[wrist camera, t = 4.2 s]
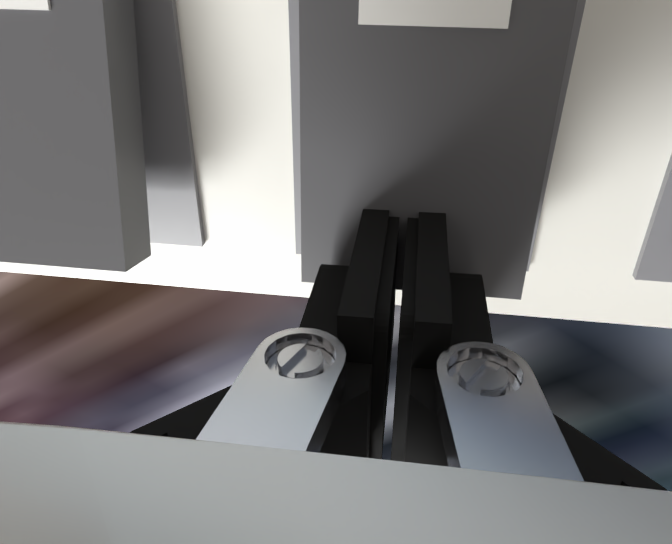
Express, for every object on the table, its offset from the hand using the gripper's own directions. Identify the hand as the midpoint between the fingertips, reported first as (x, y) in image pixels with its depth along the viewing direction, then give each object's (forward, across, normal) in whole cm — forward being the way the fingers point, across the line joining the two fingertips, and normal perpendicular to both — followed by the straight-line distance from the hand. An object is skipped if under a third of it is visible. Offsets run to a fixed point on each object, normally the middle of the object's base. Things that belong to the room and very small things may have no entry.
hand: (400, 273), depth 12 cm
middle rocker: (0, 0, -3) cm, 3 cm away
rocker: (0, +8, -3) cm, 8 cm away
